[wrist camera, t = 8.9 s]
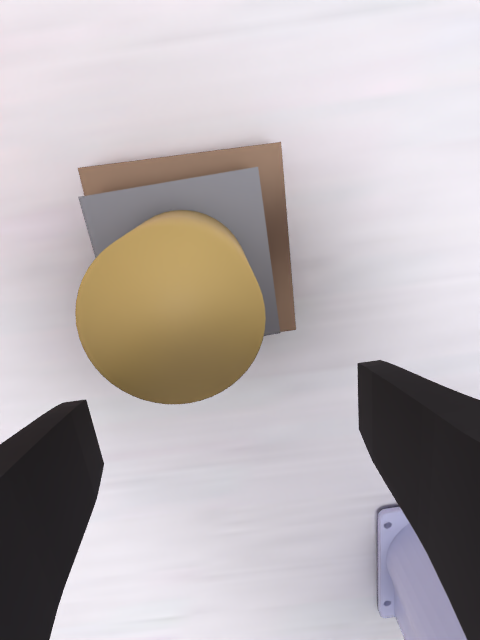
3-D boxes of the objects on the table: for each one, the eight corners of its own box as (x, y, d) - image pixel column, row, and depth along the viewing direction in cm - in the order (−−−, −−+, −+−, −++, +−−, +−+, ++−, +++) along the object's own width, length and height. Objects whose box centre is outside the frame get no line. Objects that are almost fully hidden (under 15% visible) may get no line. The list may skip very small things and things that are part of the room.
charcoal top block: (269, 308, 18) (280, 332, 15) (137, 331, 18) (124, 360, 15) (249, 168, 16) (258, 166, 13) (101, 193, 16) (78, 197, 13)
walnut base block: (284, 309, 22) (295, 329, 19) (134, 330, 21) (122, 353, 19) (270, 147, 19) (281, 142, 16) (97, 169, 19) (77, 168, 16)
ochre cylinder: (255, 323, 15) (275, 389, 11) (136, 343, 15) (103, 417, 10) (237, 200, 14) (252, 211, 9) (105, 220, 14) (50, 243, 9)
